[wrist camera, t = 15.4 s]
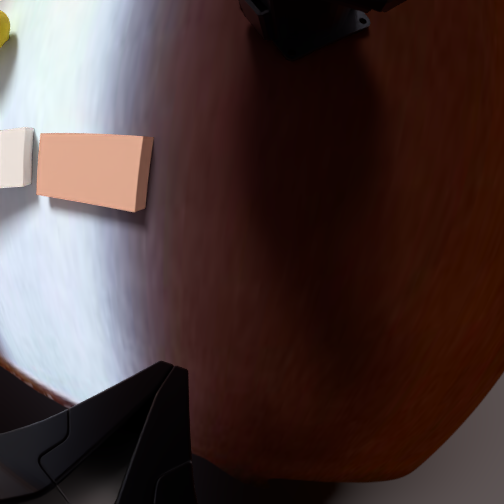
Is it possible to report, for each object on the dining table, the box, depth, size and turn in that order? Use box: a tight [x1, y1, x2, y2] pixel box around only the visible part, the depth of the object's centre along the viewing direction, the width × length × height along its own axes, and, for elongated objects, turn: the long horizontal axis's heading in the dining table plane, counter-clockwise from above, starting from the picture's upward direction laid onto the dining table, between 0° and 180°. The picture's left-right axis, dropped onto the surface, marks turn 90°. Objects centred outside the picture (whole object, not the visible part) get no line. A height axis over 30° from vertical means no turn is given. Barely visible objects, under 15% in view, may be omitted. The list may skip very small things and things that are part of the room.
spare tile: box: [36, 133, 154, 212], centre depth 19 cm, size 2×5×10 cm
